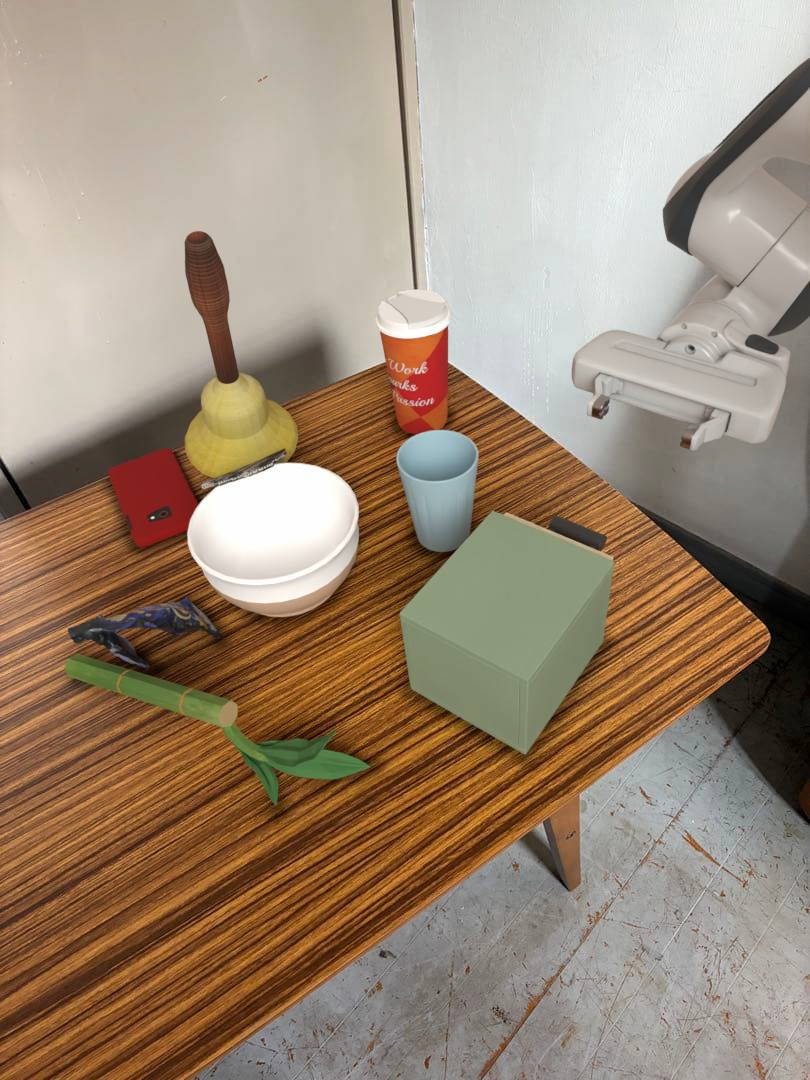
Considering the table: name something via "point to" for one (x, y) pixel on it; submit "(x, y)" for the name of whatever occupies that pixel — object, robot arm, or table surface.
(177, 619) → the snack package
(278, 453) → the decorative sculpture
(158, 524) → the cell phone
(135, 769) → the table surface
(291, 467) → the bowl
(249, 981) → the table surface
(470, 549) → the cabinet
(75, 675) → the decorative plant
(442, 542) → the cup
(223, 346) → the handbell
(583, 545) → the beige drawer
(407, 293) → the coffee cup
